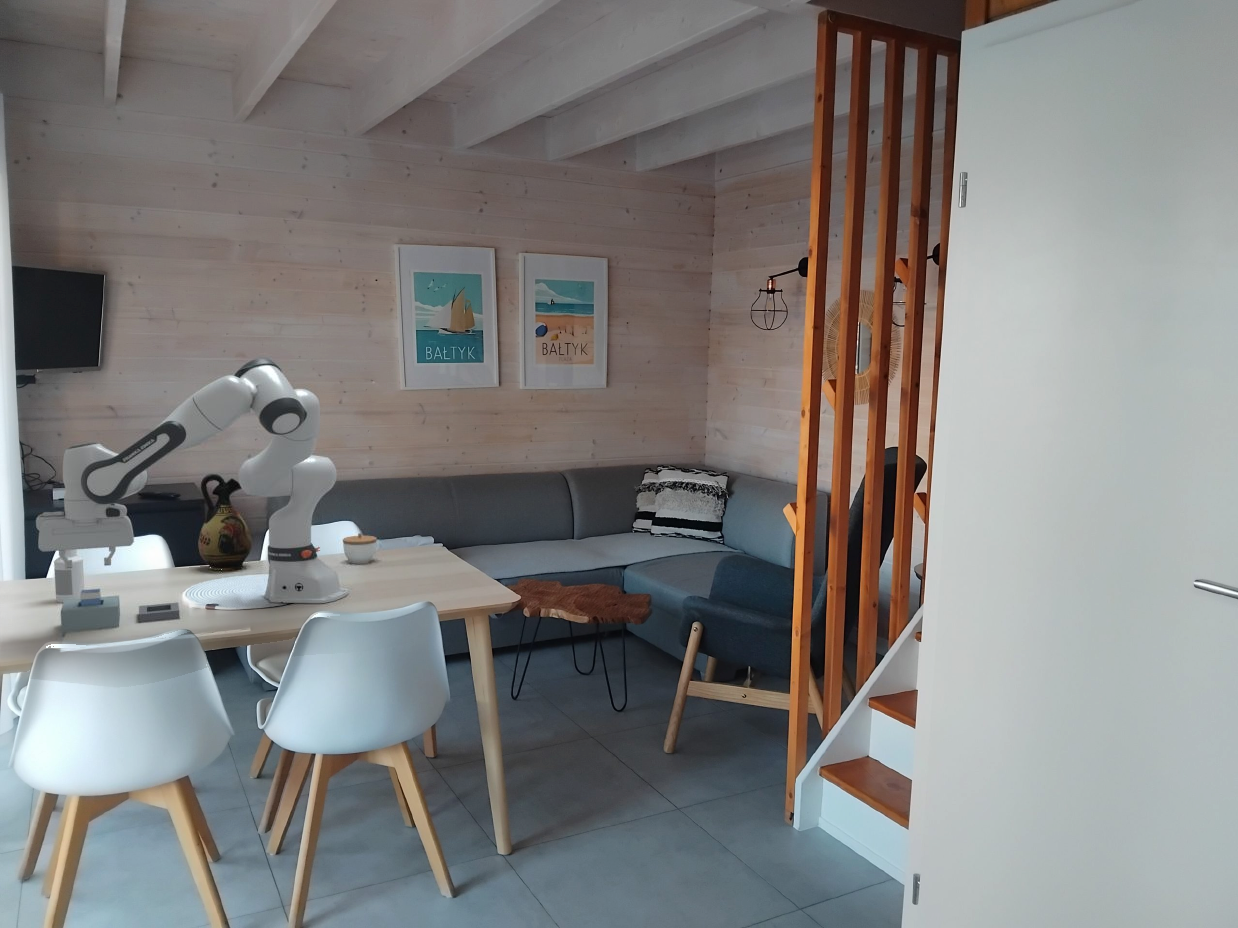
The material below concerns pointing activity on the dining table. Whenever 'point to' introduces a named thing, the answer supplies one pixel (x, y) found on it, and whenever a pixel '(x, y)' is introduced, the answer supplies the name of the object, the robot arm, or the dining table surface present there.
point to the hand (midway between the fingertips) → (88, 566)
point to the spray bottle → (69, 577)
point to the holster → (159, 612)
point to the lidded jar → (360, 548)
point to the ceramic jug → (223, 528)
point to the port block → (90, 615)
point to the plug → (90, 597)
